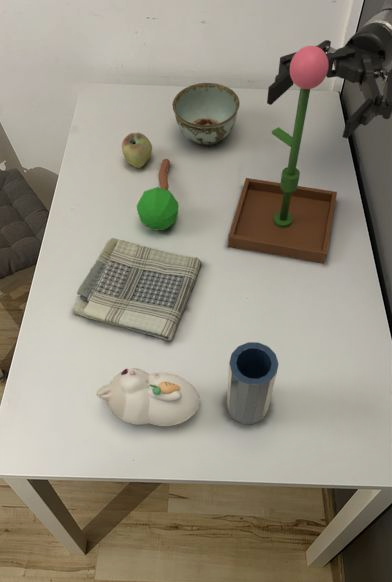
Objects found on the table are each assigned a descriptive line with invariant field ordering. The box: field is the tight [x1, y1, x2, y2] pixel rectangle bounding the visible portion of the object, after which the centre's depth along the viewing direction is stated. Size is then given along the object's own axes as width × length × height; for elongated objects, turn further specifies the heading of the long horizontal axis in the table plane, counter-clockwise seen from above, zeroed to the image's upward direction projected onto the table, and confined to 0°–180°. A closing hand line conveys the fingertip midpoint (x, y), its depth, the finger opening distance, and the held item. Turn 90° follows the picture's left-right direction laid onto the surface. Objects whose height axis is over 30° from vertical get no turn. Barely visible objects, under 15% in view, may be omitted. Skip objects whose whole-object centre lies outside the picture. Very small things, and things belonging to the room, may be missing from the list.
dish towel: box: [72, 237, 202, 342], centre depth 86 cm, size 19×18×3 cm
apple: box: [121, 132, 153, 169], centre depth 102 cm, size 6×8×6 cm
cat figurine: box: [96, 368, 201, 427], centre depth 73 cm, size 10×8×15 cm
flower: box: [270, 45, 329, 228], centre depth 80 cm, size 7×5×32 cm
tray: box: [227, 177, 338, 264], centre depth 93 cm, size 18×16×3 cm
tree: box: [136, 157, 180, 231], centre depth 96 cm, size 8×8×20 cm
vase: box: [226, 341, 279, 425], centre depth 70 cm, size 6×6×14 cm
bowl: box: [171, 82, 240, 147], centre depth 104 cm, size 14×13×8 cm
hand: (306, 112), depth 76 cm, fingers open, 13 cm apart
